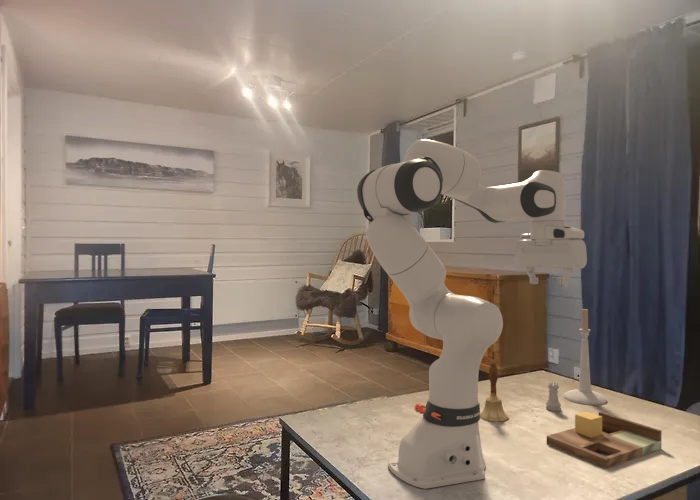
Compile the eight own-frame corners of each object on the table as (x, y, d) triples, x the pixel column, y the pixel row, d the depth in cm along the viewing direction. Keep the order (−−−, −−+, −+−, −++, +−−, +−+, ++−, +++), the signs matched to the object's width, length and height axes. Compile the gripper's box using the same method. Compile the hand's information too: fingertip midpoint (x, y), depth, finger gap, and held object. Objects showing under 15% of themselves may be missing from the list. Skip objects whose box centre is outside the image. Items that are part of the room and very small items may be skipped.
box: (606, 468, 109) (606, 448, 109) (546, 443, 123) (546, 426, 123) (661, 448, 120) (661, 430, 120) (600, 428, 134) (600, 411, 134)
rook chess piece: (562, 412, 147) (562, 385, 147) (547, 411, 148) (547, 385, 148) (559, 407, 151) (559, 381, 151) (544, 406, 152) (544, 381, 152)
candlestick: (559, 392, 167) (558, 305, 167) (598, 393, 166) (598, 305, 166) (570, 404, 155) (570, 310, 155) (613, 405, 153) (613, 310, 153)
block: (591, 437, 122) (591, 419, 122) (575, 431, 126) (575, 414, 126) (602, 434, 124) (602, 416, 124) (586, 428, 128) (586, 411, 128)
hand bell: (473, 415, 145) (473, 361, 145) (493, 410, 149) (493, 358, 149) (494, 424, 137) (494, 367, 137) (514, 418, 141) (514, 364, 141)
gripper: (509, 233, 136) (509, 283, 136) (574, 231, 118) (574, 288, 118) (524, 233, 139) (525, 282, 139) (590, 231, 121) (591, 286, 121)
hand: (548, 284), depth 128 cm, fingers open, 8 cm apart
